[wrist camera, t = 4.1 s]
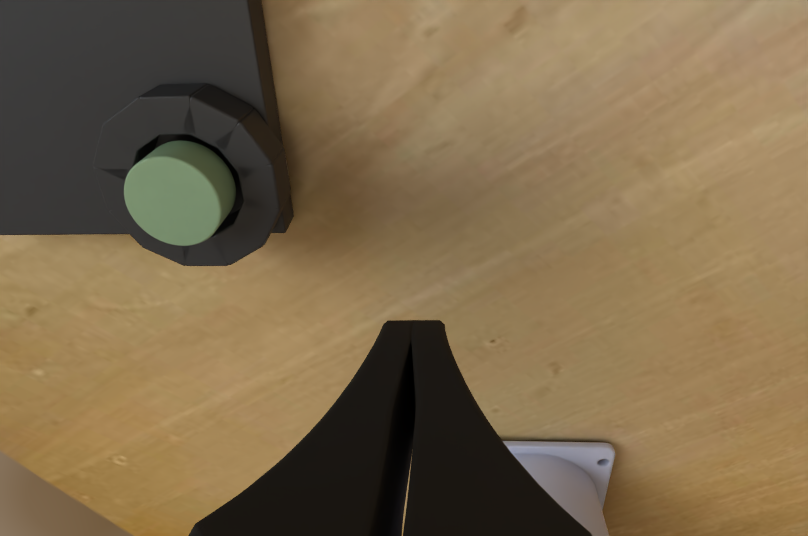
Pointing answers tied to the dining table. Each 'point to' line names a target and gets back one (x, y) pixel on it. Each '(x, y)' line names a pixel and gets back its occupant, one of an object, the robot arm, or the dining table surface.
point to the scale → (136, 115)
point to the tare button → (180, 193)
